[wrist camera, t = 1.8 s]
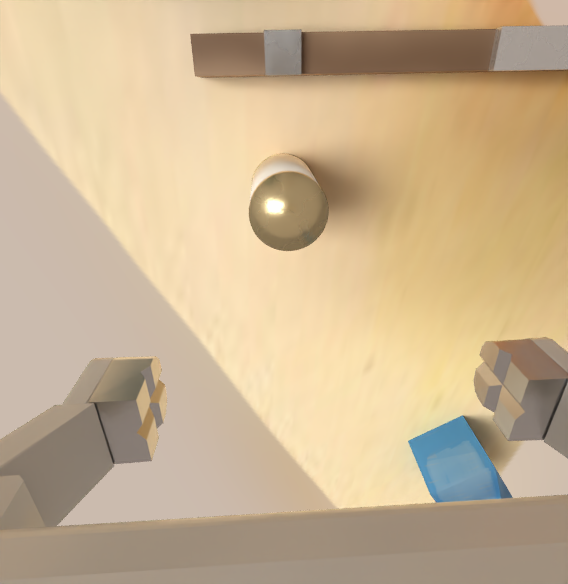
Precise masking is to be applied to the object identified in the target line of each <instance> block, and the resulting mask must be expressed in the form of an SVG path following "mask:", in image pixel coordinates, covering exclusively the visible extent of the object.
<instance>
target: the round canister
mask: <svg viewBox="0 0 568 584" xmlns="http://www.w3.org/2000/svg"><path fill="white" fill-rule="evenodd" d="M249 219H250V223H251V226H252V229H253V231H254V232H255V234H256V235H257V237H258V238H259V239H260V240H261V241H262V242H264V243H265V244H266V245H268V246H270V247H272V248H274V249H278V250H283V251H293V250H298V249H301V248H304V247H306V246H308V245H310V244H311V243H313V242H314V241H315V240H316V239H317V238H318V237H319V236H320V235H321V233H322V232H323V230H324V228H325V226H326V223H327V219H328V203H327V199H326V196H325V194H324V192H323V191H322V189H321V187H320V186H319V184H318V182H317V181H316V179H315V177H314V176H313V174H312V172H311V171H310V169H309V168H308V166H307V165H306V164H305V163H304V162H303V161H302V160H301V159H299V158H298V157H296V156H293V155H290V154H276V155H273V156H270V157H268V158H267V159H265V160H264V161H263V162H262V163H261V164H260V165H259V166H258V167H257V169H256V170H255V173H254V175H253V178H252V186H251V195H250V205H249Z"/></svg>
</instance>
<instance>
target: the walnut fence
mask: <svg viewBox="0 0 568 584" xmlns="http://www.w3.org/2000/svg"><path fill="white" fill-rule="evenodd" d="M190 35H191V44H192V53H193V62H194V72H195V76H197V77H251V76H302V75H352V74H402V73H453V72H503V71H553V70H568V26H506V27H499V28H496V29H475V30H411V31H348V32H301V30H264V33H220V34H190Z"/></svg>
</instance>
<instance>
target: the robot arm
mask: <svg viewBox="0 0 568 584" xmlns="http://www.w3.org/2000/svg"><path fill="white" fill-rule="evenodd" d="M480 356H481V358H482V360H483V361H484V362H483V363H482V364H481V365H480V366H479V367H478V368H477V369H476V372H475V377H474V386H475V392H476V394H477V397H478V399H479V400H480V402H481V403H482V405H483V406H484V407H486V408H487V409H489V410H491V411H493V412H494V416H493V420H494V422H495V423H496V425H497V426H498V427H499V429H500V430H501V432H502V433H503V434H504V436H505V437H506V439H507V440H508V441H522V440H544V442H545V443H547V444H548V445H549V446H551V447H552V448H554V449H555V450H557V451H558V452H560V453H561V454H562V455H564V456H565V457H567V458H568V352H567V351H565V350H564V349H563V348H562V347H561V346H559V345H558V344H557V343H556V342H555V341H553V340H552V339H549V338H546V337H542V338H529V339H522V340H505V341H487V342H485V343H484V345H483V346H482V349H481V352H480ZM161 371H162V369H161V365H160V361H159V359H158V358H157V357H156V356H155V357H119V358H118V357H117V358H95V359H93V360H91V361H90V362H89V364H88V365H87V367H86V368H85V370H84V371H83V373H82V374H81V376H80V377H79V379H78V381H77V382H76V384H75V385H74V387H73V388H72V390H71V391H70V393H69V395H68V396H67V398H66V399H65V401H64V402H63V404H62V405H54V406H53V407H51V408H50V409H48V410H46V411H45V412H43V413H42V414H40V415H38V416H37V417H35V418H34V419H32V420H30V421H29V422H27V423H26V424H24V425H23V426H21V427H19V428H18V429H16V430H14V431H13V432H11V433H10V434H8V435H6V436H5V437H3V438H2V439H0V584H568V495H554V496H538V497H521V498H505V499H488V500H472V501H456V502H439V503H423V504H407V505H391V506H375V507H359V508H343V509H327V510H311V511H295V512H280V513H264V514H246V515H230V516H214V517H198V518H184V519H183V518H182V519H167V520H150V521H135V522H118V523H101V524H85V525H69V526H57V525H58V524H59V523H60V522H61V521H62V520H63V519H64V518H65V517H66V516H67V515H68V513H69V512H70V511H71V510H72V509H73V508H74V507H75V506H76V505H77V504H78V503H79V502H80V501H81V500H82V499H83V498H84V497H85V496H86V495H87V494H88V493H89V492H90V491H91V489H92V488H93V487H94V486H95V485H96V484H97V483H98V482H99V481H100V480H101V479H102V478H103V477H104V476H105V475H106V474H107V473H108V472H109V471H110V470H111V469H112V468H113V467H114V465H113V464H121V463H133V462H144V461H152V458H153V455H154V452H155V449H156V445H157V442H158V439H159V436H158V432H157V428H158V427H159V426H160V425H161V424H162V423H163V421H164V418H165V414H166V406H167V397H166V389H165V384H163V383H162V382H161V381H160V380H159V377H160V374H161Z"/></svg>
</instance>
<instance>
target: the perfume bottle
mask: <svg viewBox="0 0 568 584" xmlns="http://www.w3.org/2000/svg"><path fill="white" fill-rule="evenodd" d="M408 442H409V444H410V447H411V449H412V452H413V454H414V456H415V459H416V461H417V464H418V466H419V468H420V471H421V473H422V476H423V478H424V480H425V483H426V485H427V488H428V490H429V492H430V495H431V496H432V497H433V499H434V500H435V501H436V503H439V502H456V501H472V500H488V499H505V498H513V497H512V496H511V494H510V492H509V491H508V489H507V487H506V485H505V484H504V482H503V480H502V479H501V477H500V475H499V474H498V472H497V470H496V468H495V467H494V465H493V464H492V462H491V460H490V459H489V457H488V455H487V454H486V452H485V451H484V449H483V447H482V446H481V444H480V443H479V441H478V439H477V438H476V436H475V434H474V433H473V431H472V430H471V428H470V426H469V425H468V423H467V421H466V420H465V418H464V417H463V416H460V417H458V418H456V419H454V420H452V421H450V422H448V423H446V424H443V425H441V426H439V427H437V428H435V429H433V430H431V431H428V432H426V433H424V434H422V435H420V436H418V437H416V438H413V439H411V440H409V441H408Z"/></svg>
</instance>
